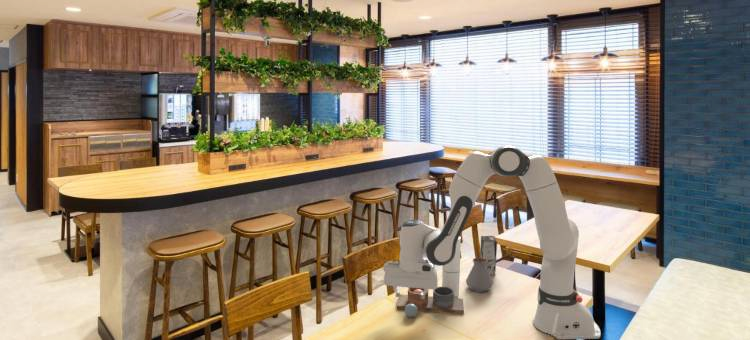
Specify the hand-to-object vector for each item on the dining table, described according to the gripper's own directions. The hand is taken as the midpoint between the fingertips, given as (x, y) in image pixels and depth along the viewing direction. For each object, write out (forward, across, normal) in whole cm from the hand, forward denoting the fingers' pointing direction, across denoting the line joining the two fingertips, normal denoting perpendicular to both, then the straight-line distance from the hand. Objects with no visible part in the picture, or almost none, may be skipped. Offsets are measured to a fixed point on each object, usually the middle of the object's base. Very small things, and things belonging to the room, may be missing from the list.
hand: (410, 297), depth 170 cm
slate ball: (+5, 0, 0) cm, 5 cm away
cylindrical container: (+8, +15, +22) cm, 28 cm away
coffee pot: (+7, +32, +31) cm, 45 cm away
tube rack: (+8, +8, +10) cm, 14 cm away
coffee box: (+8, +33, +49) cm, 60 cm away
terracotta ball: (+4, +3, +10) cm, 10 cm away
